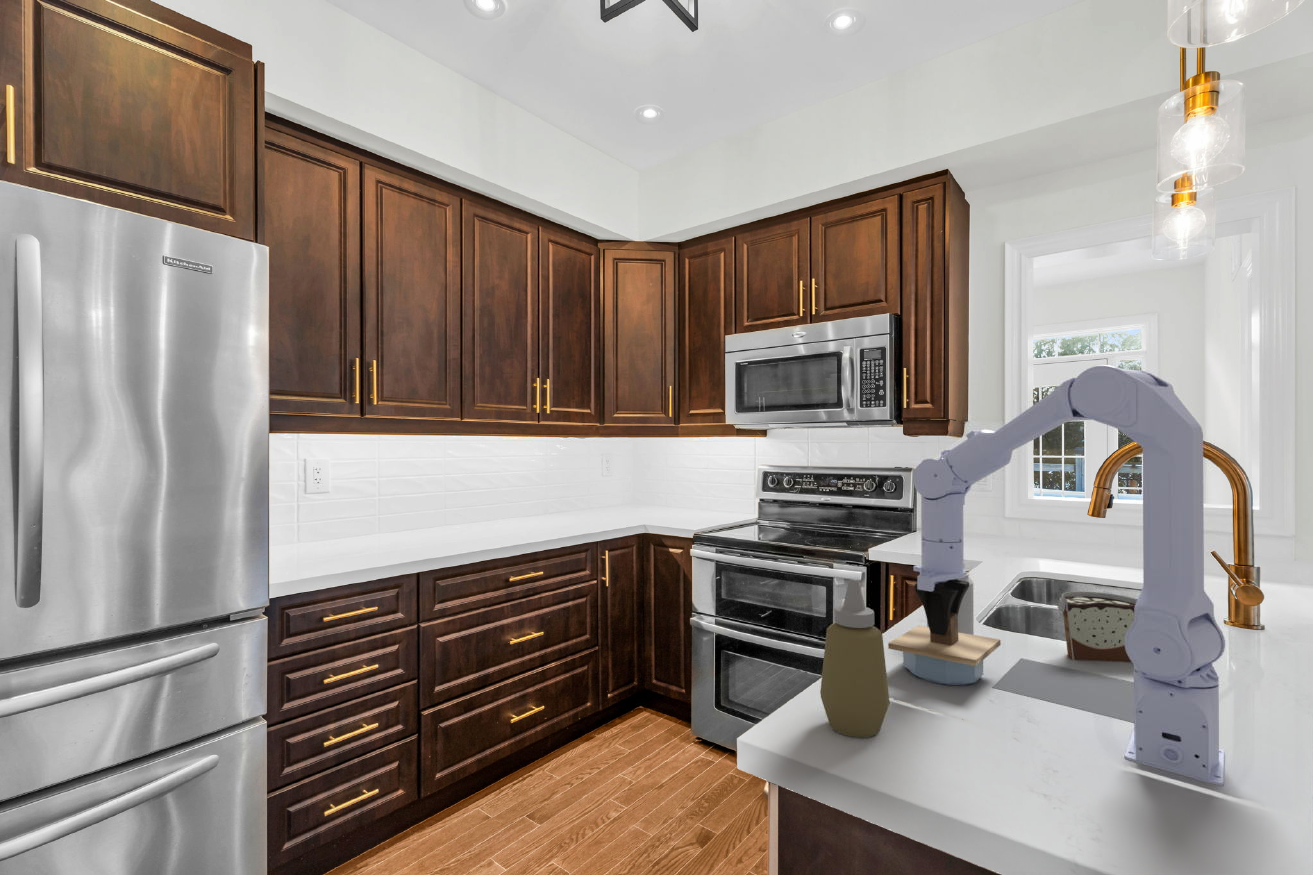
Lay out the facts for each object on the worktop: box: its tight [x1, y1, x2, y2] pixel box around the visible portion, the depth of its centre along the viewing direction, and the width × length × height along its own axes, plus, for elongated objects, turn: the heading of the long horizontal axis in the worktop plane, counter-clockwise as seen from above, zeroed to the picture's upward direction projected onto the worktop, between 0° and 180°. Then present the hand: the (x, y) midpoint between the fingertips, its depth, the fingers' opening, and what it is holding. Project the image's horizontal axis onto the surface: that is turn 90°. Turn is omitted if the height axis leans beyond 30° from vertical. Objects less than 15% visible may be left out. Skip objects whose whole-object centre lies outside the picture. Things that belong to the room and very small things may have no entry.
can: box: [926, 570, 975, 635], centre depth 109 cm, size 8×8×12 cm
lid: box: [887, 613, 1002, 666], centre depth 92 cm, size 12×12×5 cm
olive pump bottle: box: [819, 578, 891, 738], centre depth 75 cm, size 8×8×18 cm
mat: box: [991, 658, 1134, 724], centre depth 87 cm, size 16×16×1 cm
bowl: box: [902, 651, 984, 686], centre depth 92 cm, size 10×10×4 cm
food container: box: [1057, 591, 1138, 663], centre depth 100 cm, size 12×6×10 cm, turn 84°
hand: (942, 630), depth 92 cm, fingers closed on lid, 3 cm apart
